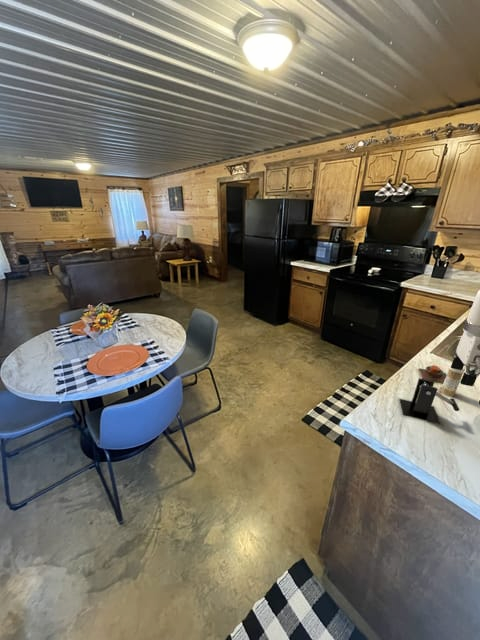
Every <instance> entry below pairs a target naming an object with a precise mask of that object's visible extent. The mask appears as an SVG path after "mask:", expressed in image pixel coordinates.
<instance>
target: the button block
mask: <svg viewBox="0 0 480 640" xmlns="http://www.w3.org/2000/svg"><path fill="white" fill-rule="evenodd" d="M431 366H432V365H428V366H426V367H425V369H424V368H420V367H419V368H418V372H419V374H420V375H419V376H420V377H421V379H425V380H430V381H434V383H438V384H443V383H444V381H445V378H446V376H447V373H446V372H444V370H443V369H441V368H440V370H439V373H436V372H433V371H431V370H430V368H431Z"/></svg>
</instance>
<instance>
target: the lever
mask: <svg viewBox="0 0 480 640" xmlns="http://www.w3.org/2000/svg"><path fill="white" fill-rule="evenodd" d="M421 385H425V386H430V387H432V386H431V385H429V384H427V383H426V382H424V383H422V384H421ZM421 385H420V387H421ZM435 397H437V398H439V399H440V400H442V401H443V402H445V403H447V404H449V405H451V407H452V409H453V411H454V412H459V411H460V407H459V406H458V404H457V402H456V400H455V399H454V398H448V397H446V396H444V395H443V394H442V393H440V392H436V395H435Z"/></svg>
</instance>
